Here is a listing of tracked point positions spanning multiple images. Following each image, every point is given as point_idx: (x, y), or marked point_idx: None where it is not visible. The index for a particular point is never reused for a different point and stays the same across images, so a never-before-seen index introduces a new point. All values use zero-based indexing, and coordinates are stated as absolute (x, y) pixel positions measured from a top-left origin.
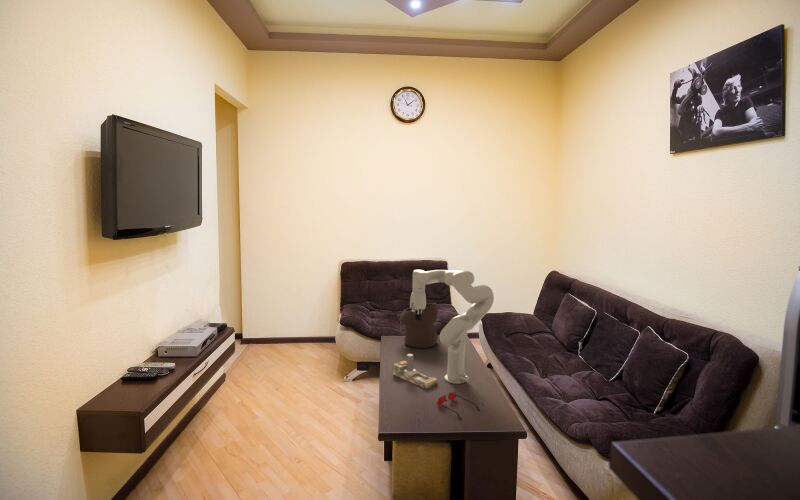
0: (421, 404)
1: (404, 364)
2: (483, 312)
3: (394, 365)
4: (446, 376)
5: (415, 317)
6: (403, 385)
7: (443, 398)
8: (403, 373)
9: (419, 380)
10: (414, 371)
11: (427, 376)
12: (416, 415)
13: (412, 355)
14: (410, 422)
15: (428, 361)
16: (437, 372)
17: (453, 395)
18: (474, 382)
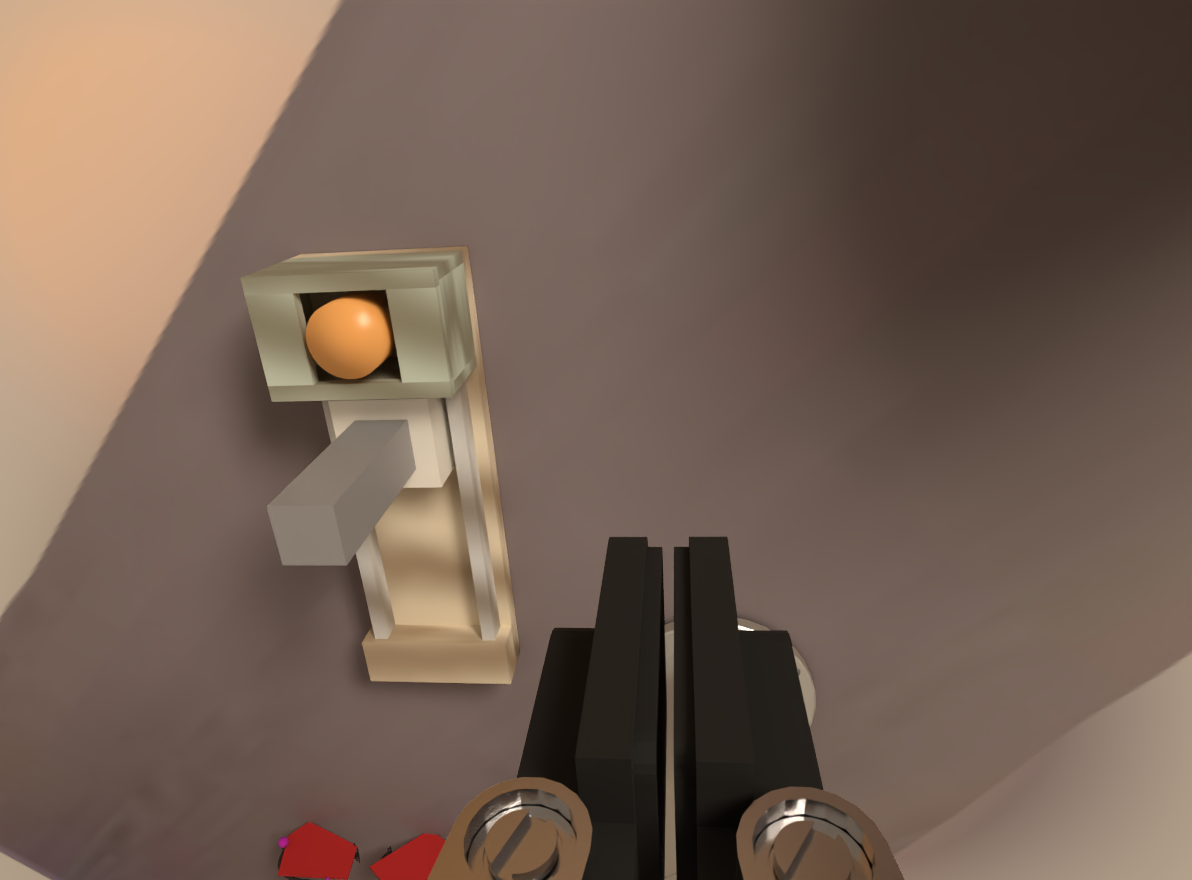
0: (225, 753)
1: (352, 377)
2: None
3: (249, 298)
4: (665, 651)
5: (602, 588)
6: (263, 499)
7: (329, 865)
8: (328, 404)
9: (368, 601)
10: (418, 484)
11: (484, 594)
12: (130, 802)
13: (326, 564)
14: (66, 821)
15: (897, 236)
16: (710, 512)
17: (428, 867)
18: None
